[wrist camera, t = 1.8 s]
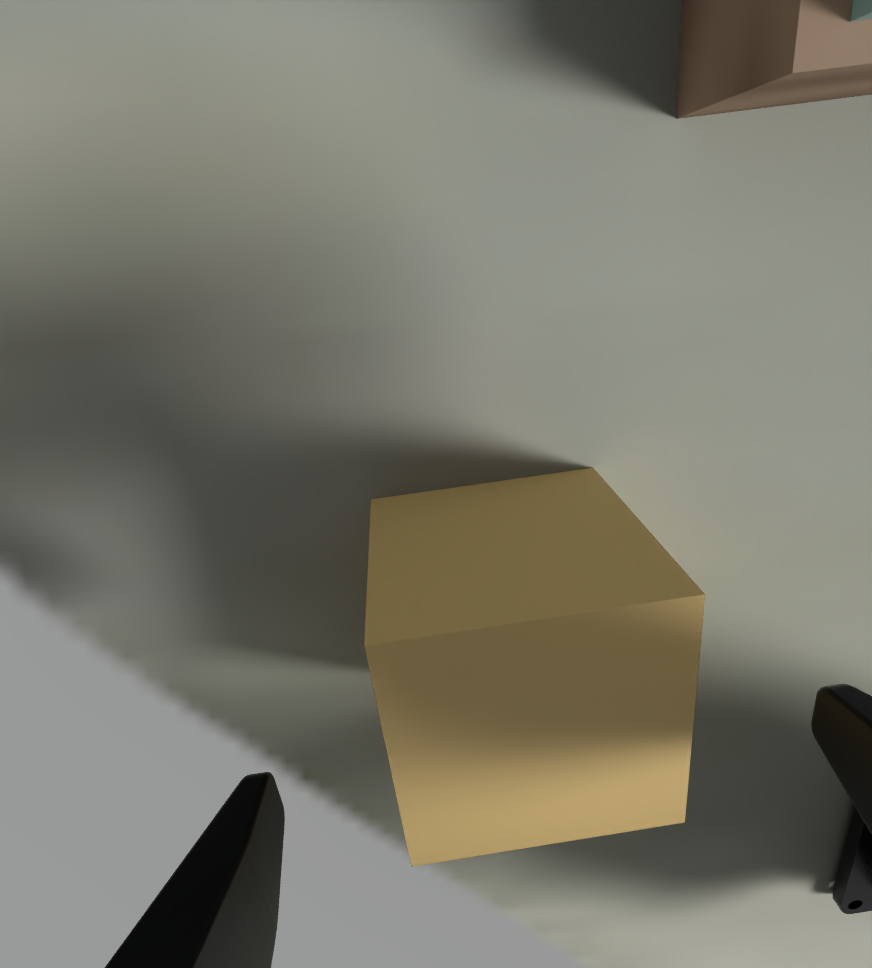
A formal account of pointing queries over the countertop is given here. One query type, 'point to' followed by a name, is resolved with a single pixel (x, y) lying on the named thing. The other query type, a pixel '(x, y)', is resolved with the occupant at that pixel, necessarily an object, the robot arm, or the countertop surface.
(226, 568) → the countertop surface
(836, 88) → the tower base
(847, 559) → the countertop surface
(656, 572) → the ochre block
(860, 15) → the tower top
